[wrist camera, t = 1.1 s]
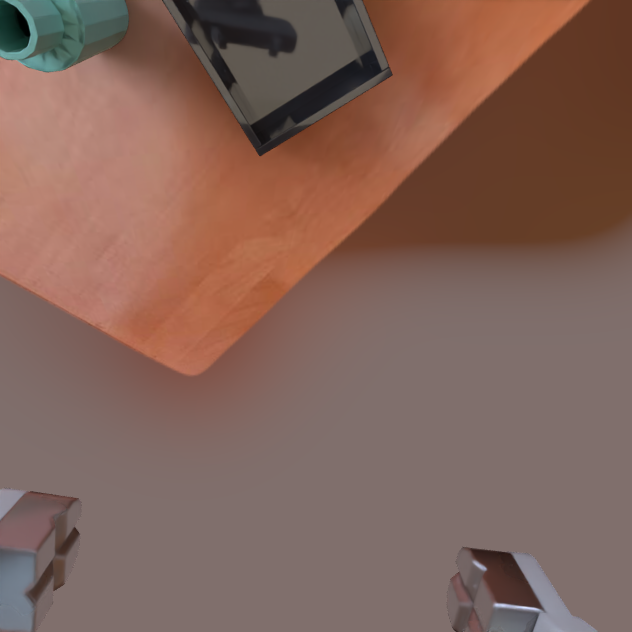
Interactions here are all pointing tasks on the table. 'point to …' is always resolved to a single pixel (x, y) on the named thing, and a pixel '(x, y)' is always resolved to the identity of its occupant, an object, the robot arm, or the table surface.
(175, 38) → the table surface
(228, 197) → the table surface
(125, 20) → the bottle
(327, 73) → the dark open tray box
